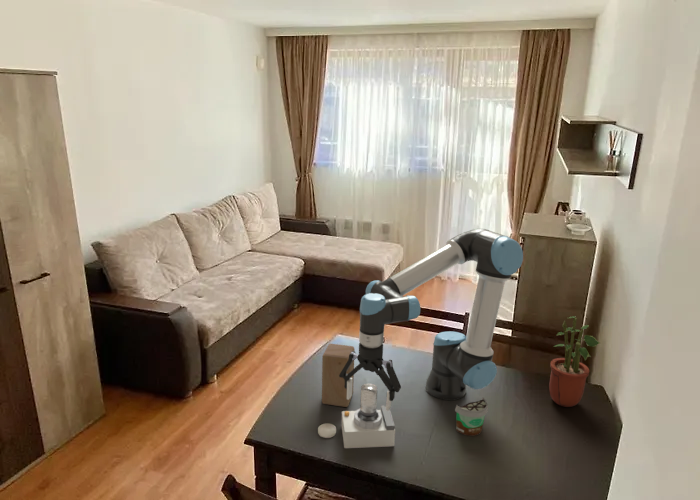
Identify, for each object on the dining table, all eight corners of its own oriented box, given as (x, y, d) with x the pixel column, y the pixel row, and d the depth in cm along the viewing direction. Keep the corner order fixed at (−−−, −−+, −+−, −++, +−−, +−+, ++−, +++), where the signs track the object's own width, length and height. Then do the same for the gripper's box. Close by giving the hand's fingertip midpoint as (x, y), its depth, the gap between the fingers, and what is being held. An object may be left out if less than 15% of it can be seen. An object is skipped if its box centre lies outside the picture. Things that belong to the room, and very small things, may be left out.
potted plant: (572, 417, 177) (588, 327, 167) (532, 397, 188) (545, 312, 178) (594, 399, 188) (610, 314, 178) (554, 382, 199) (568, 301, 189)
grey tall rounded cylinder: (363, 413, 165) (364, 382, 162) (378, 418, 163) (379, 386, 160) (357, 422, 161) (358, 390, 157) (372, 427, 159) (373, 394, 155)
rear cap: (335, 426, 168) (335, 422, 168) (336, 438, 163) (336, 434, 162) (317, 427, 168) (317, 423, 167) (318, 439, 162) (318, 435, 162)
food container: (464, 442, 162) (467, 415, 159) (452, 431, 167) (455, 405, 164) (493, 432, 168) (496, 406, 165) (481, 421, 173) (484, 396, 170)
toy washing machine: (388, 424, 170) (389, 404, 168) (394, 446, 159) (395, 424, 157) (341, 426, 168) (342, 406, 166) (344, 448, 158) (344, 426, 155)
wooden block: (348, 408, 178) (349, 358, 173) (321, 404, 180) (321, 354, 174) (353, 393, 188) (355, 345, 182) (327, 389, 189) (328, 342, 184)
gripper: (329, 339, 156) (328, 398, 162) (405, 357, 146) (401, 419, 152) (339, 330, 162) (338, 387, 168) (413, 346, 153) (409, 406, 159)
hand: (368, 402), depth 160 cm, fingers open, 13 cm apart
